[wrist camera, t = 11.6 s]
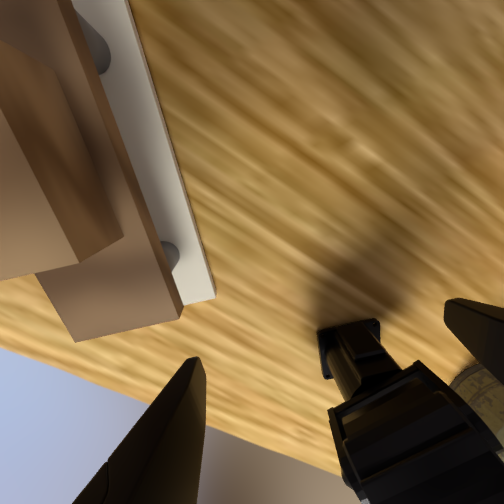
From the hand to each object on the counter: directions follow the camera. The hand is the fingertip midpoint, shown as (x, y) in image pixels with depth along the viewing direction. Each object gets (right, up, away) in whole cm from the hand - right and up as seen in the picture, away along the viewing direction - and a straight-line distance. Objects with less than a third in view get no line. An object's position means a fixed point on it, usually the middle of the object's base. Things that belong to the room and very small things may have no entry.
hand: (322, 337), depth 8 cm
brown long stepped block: (-13, +8, +5) cm, 16 cm away
